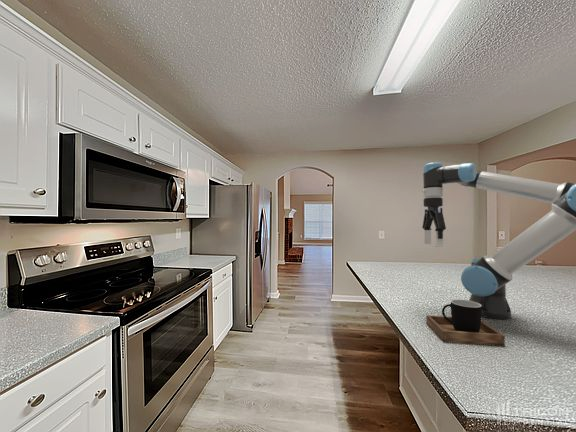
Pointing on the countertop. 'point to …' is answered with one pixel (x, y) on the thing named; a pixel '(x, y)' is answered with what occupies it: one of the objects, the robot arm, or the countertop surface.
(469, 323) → the mug
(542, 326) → the countertop surface
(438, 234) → the robot arm
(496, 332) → the walnut tray
